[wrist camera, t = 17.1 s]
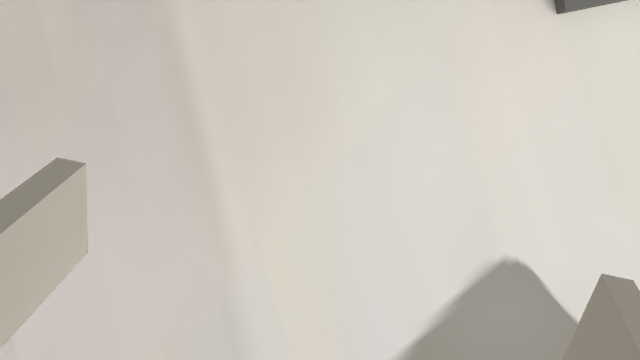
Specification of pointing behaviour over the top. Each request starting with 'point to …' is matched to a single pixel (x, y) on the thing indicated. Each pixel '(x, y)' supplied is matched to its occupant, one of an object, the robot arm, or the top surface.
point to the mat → (580, 4)
